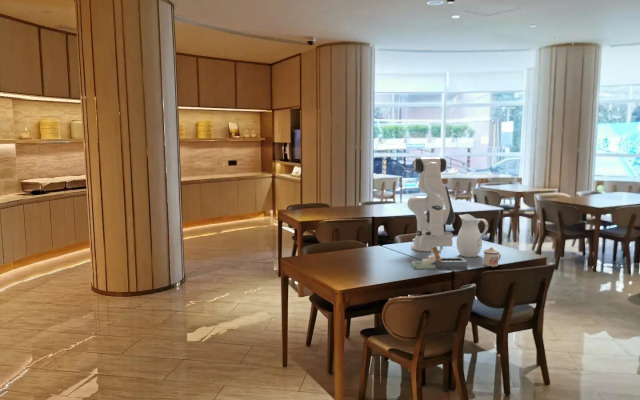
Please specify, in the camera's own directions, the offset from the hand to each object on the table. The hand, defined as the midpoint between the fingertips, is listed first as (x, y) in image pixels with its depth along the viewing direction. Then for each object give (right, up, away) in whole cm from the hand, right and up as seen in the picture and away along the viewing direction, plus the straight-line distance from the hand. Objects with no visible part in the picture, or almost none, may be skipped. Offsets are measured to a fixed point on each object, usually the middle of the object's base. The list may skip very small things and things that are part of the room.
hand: (435, 253), depth 319 cm
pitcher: (+31, -5, +27) cm, 42 cm away
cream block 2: (-2, -6, +1) cm, 6 cm away
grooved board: (+9, -9, +2) cm, 12 cm away
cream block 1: (-4, -6, +1) cm, 8 cm away
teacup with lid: (+38, -8, +5) cm, 39 cm away
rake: (+2, -5, +1) cm, 6 cm away
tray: (-8, -9, +1) cm, 12 cm away
